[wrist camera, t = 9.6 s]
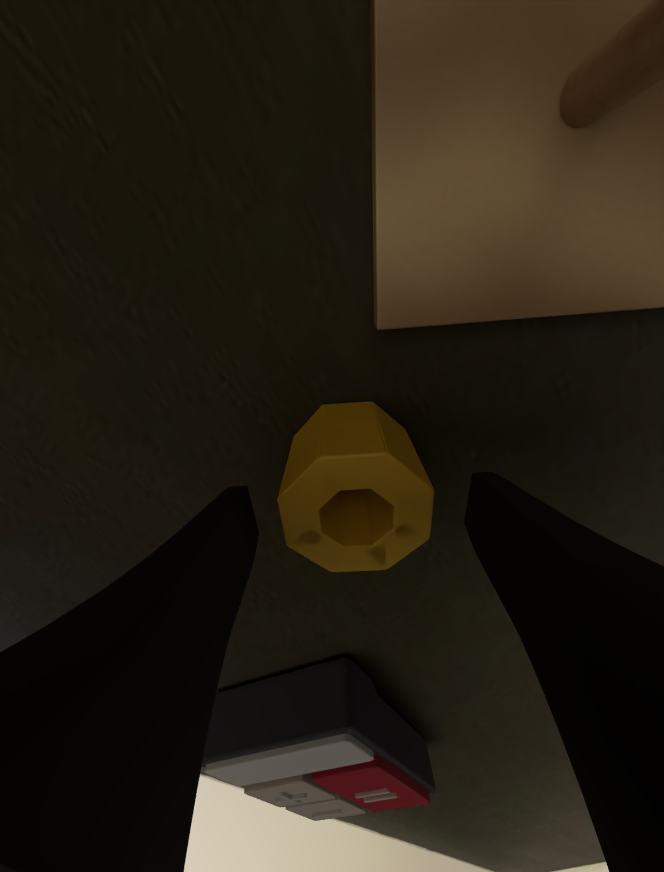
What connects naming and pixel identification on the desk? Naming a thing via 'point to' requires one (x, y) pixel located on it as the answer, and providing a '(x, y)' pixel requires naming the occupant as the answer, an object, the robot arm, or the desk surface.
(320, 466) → the sleeve
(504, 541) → the robot arm
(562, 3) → the stand
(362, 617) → the desk surface
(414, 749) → the calculator
